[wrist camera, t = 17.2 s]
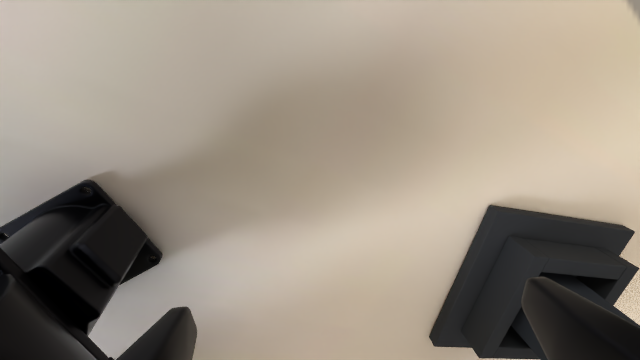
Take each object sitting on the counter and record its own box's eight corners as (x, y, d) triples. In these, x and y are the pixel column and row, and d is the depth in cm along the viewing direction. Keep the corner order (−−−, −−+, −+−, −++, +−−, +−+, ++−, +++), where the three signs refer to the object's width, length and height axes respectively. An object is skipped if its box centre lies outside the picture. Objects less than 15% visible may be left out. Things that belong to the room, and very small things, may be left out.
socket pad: (428, 336, 28) (449, 374, 25) (489, 204, 23) (524, 229, 20) (548, 341, 31) (581, 376, 28) (622, 225, 26) (672, 250, 23)
